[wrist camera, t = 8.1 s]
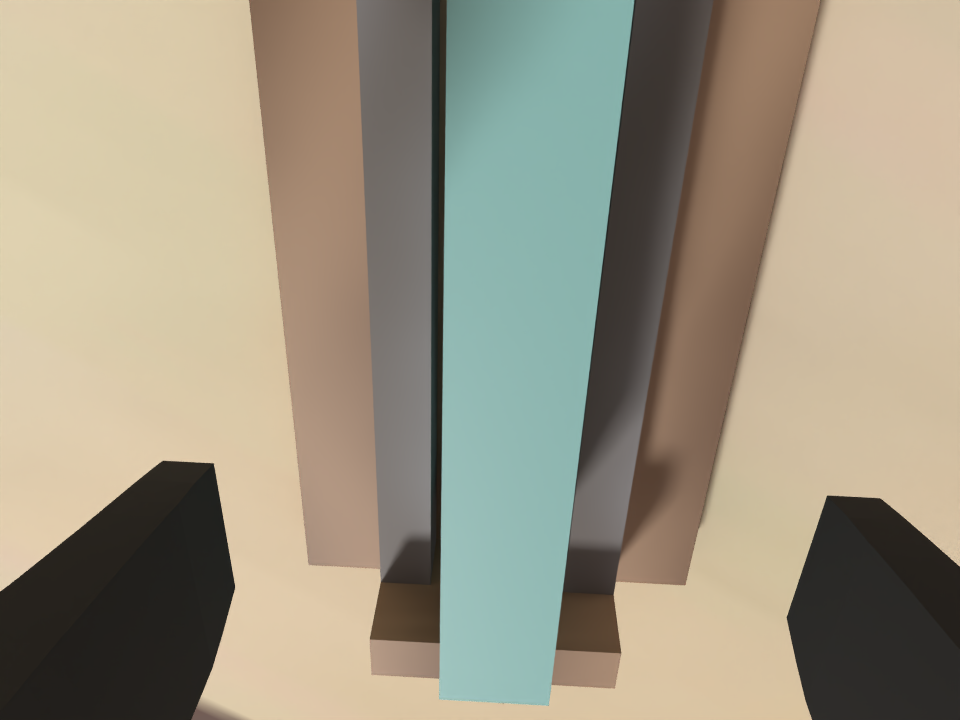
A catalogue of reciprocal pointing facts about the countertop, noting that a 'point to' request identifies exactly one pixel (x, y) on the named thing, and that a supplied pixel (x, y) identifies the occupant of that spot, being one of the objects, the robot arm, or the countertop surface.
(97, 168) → the countertop surface
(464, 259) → the door panel
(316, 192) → the track base
